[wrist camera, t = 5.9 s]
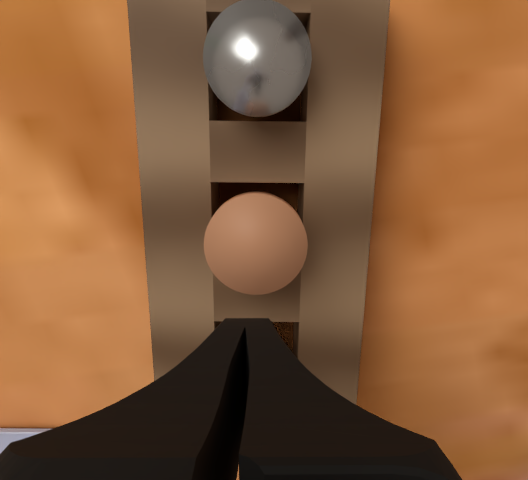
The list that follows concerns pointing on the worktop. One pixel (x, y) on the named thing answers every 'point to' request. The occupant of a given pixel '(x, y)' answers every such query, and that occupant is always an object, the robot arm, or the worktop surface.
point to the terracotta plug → (255, 243)
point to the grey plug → (257, 57)
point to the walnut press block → (259, 178)
